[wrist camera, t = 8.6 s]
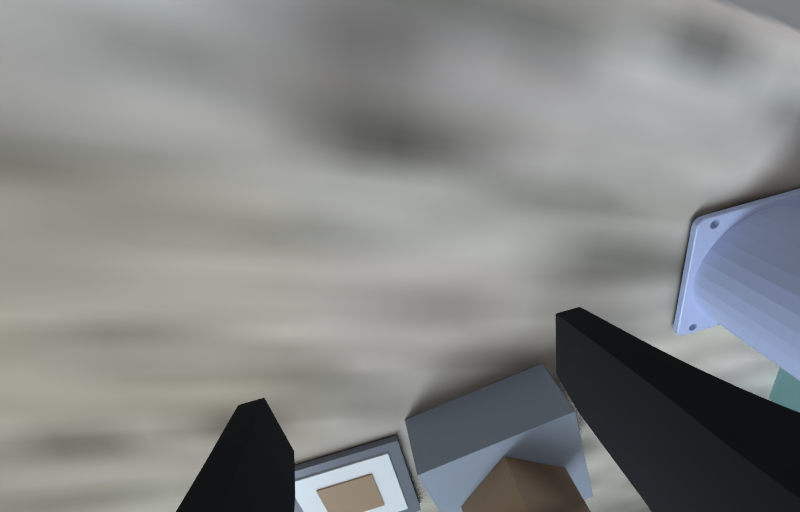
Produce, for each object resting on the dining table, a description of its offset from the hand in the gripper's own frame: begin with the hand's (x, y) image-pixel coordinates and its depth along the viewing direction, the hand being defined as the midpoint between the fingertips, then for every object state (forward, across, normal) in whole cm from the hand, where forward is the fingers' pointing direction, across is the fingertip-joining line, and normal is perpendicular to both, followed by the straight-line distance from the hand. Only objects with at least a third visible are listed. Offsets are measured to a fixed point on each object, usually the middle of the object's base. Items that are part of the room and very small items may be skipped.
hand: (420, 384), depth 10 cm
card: (+9, +6, +18) cm, 21 cm away
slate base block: (+10, -4, +17) cm, 20 cm away
